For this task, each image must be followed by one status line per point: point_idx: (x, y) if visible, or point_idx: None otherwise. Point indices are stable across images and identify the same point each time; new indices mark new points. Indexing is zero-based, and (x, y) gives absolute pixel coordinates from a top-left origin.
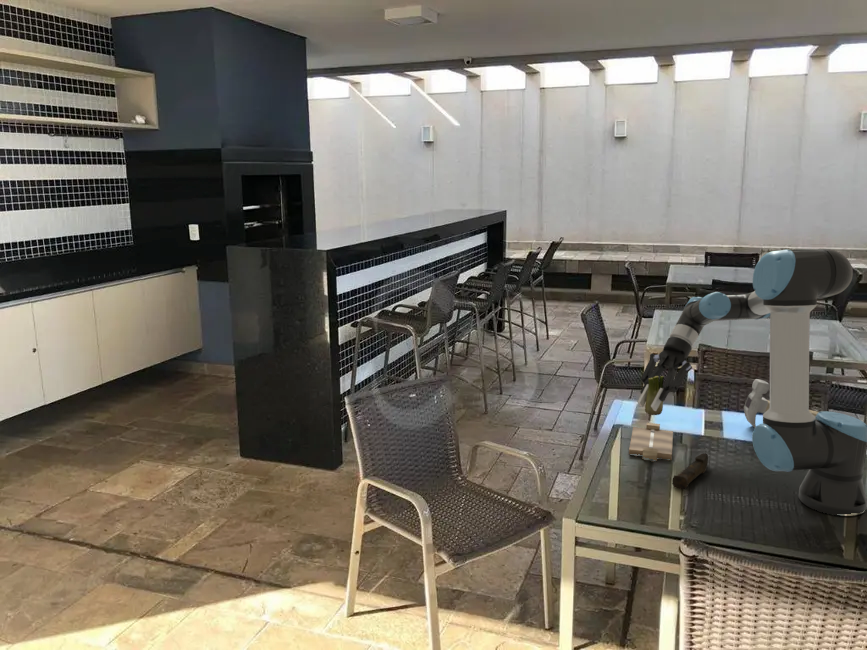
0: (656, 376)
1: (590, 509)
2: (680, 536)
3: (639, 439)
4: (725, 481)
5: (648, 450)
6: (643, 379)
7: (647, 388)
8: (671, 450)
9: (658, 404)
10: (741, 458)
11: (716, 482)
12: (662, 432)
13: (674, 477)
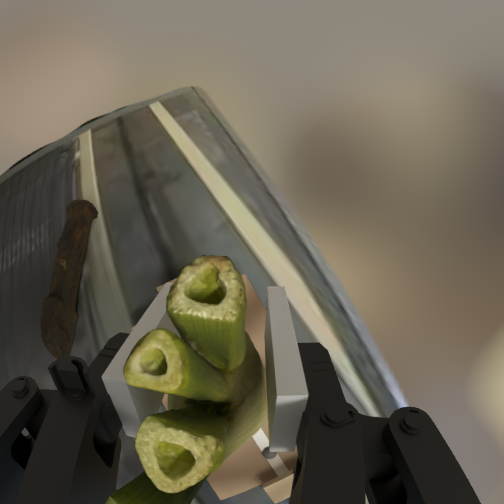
0: (187, 470)
1: (187, 100)
2: (77, 129)
3: (265, 364)
4: (28, 305)
5: None
6: (394, 425)
7: (273, 364)
8: None
9: None
10: None
11: (38, 289)
12: (241, 471)
13: (88, 201)
